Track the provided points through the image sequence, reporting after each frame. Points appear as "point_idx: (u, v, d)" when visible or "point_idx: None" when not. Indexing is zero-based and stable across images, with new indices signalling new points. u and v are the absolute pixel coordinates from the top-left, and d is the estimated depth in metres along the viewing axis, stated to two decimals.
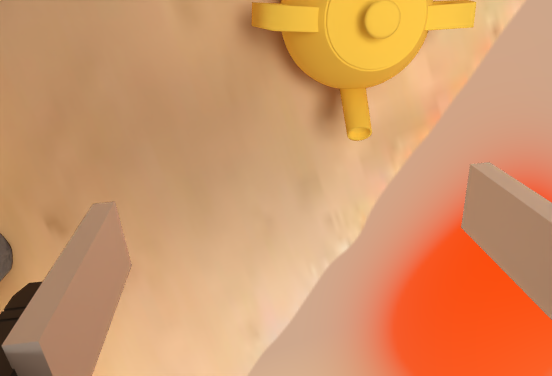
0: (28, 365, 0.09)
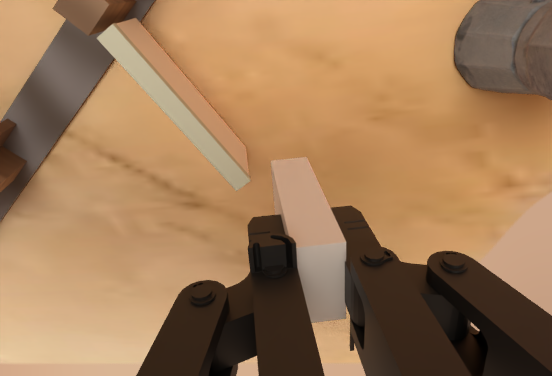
0: (305, 266, 0.12)
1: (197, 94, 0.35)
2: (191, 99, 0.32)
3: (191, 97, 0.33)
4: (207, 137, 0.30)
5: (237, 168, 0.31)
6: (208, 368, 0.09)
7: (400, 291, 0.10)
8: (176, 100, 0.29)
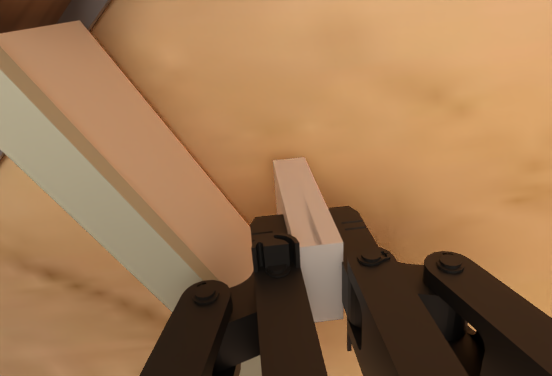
0: (308, 266, 0.12)
1: (199, 178, 0.18)
2: (188, 204, 0.15)
3: (188, 197, 0.15)
4: None
5: None
6: (211, 368, 0.09)
7: (397, 292, 0.10)
8: (152, 237, 0.11)
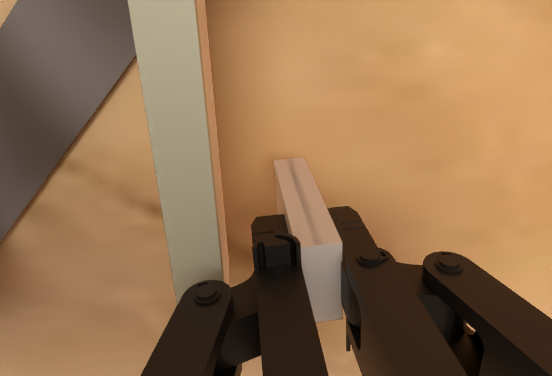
0: (309, 265, 0.12)
1: (216, 142, 0.17)
2: (214, 160, 0.14)
3: (214, 154, 0.15)
4: (211, 278, 0.12)
5: None
6: (213, 368, 0.09)
7: (396, 291, 0.10)
8: (204, 171, 0.11)
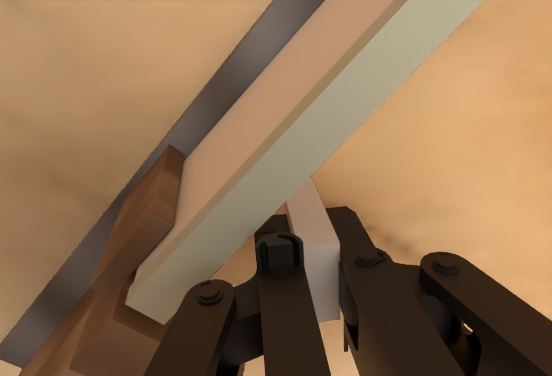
0: (312, 265, 0.12)
1: None
2: None
3: None
4: (256, 217, 0.12)
5: None
6: (215, 367, 0.09)
7: (394, 291, 0.10)
8: (343, 133, 0.11)
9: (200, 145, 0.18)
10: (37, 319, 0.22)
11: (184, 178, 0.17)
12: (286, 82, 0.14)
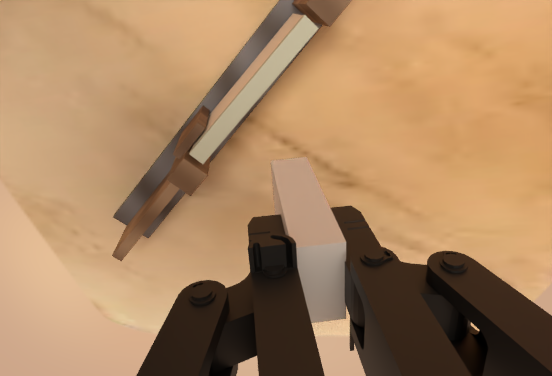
0: (305, 266, 0.12)
1: None
2: None
3: None
4: (235, 120, 0.33)
5: (212, 150, 0.34)
6: (208, 368, 0.09)
7: (400, 291, 0.10)
8: (263, 88, 0.33)
9: (217, 105, 0.40)
10: (136, 196, 0.44)
11: (210, 117, 0.39)
12: (250, 73, 0.36)
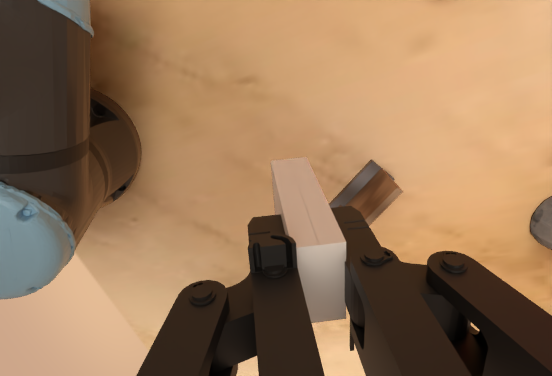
0: (305, 266, 0.12)
1: None
2: None
3: None
4: None
5: None
6: (208, 368, 0.09)
7: (400, 291, 0.10)
8: None
9: None
10: None
11: None
12: None
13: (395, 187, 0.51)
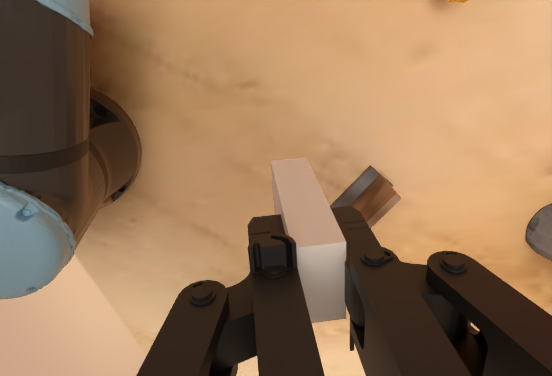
0: (305, 266, 0.12)
1: None
2: None
3: None
4: None
5: None
6: (208, 368, 0.09)
7: (400, 291, 0.10)
8: None
9: None
10: None
11: None
12: None
13: (393, 194, 0.51)
